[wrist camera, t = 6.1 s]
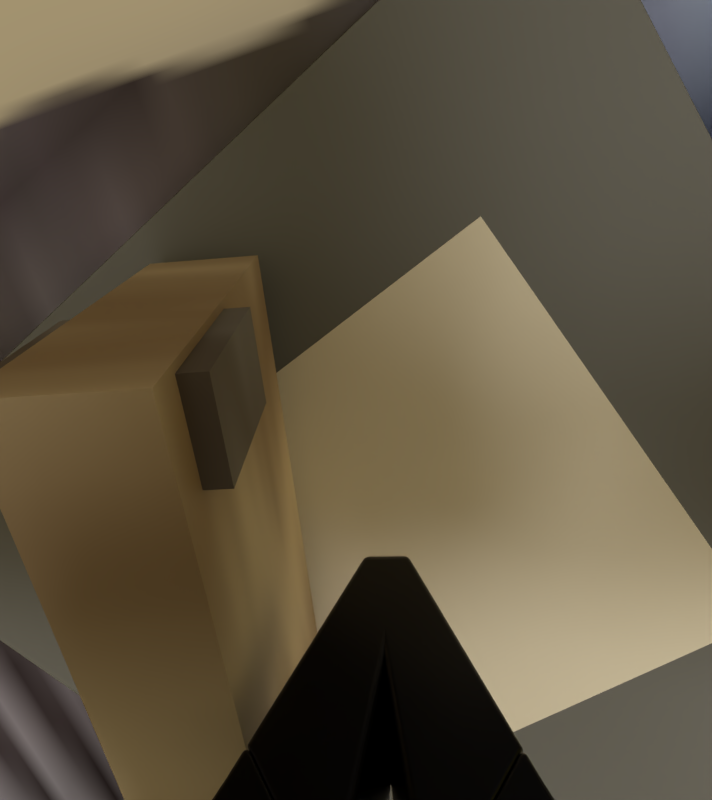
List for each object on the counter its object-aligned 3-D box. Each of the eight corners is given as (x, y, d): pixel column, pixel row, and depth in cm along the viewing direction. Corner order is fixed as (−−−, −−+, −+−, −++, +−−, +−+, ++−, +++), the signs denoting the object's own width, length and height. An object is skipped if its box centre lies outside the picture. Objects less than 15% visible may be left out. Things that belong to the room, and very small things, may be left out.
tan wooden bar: (363, 853, 15) (358, 1119, 11) (279, 854, 16) (244, 1116, 11) (278, 254, 9) (190, 386, 5) (130, 265, 9) (-82, 402, 5)
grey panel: (595, 1045, 22) (598, 1058, 21) (-156, 513, 12) (-169, 523, 12) (1104, 917, 17) (1117, 932, 17) (548, -158, 7) (554, -169, 7)
